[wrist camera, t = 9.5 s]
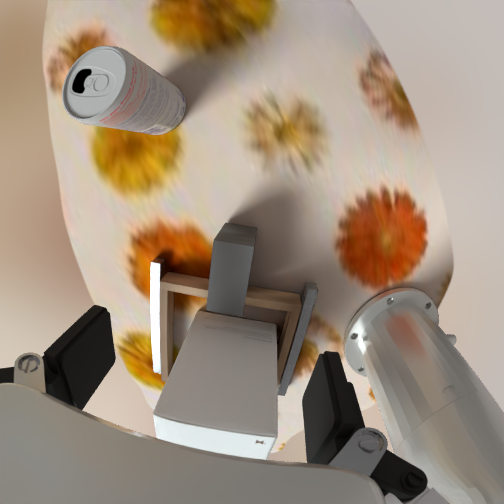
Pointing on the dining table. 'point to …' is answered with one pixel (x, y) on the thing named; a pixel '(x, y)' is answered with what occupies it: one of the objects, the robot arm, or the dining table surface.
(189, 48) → the dining table surface
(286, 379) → the lane rails
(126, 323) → the dining table surface
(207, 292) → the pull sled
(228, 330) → the supplement box
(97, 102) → the energy drink
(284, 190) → the dining table surface
